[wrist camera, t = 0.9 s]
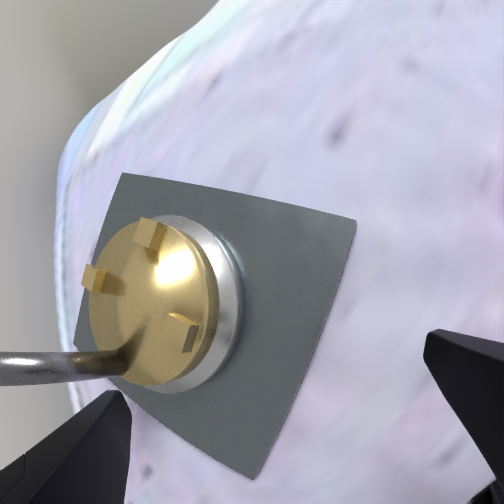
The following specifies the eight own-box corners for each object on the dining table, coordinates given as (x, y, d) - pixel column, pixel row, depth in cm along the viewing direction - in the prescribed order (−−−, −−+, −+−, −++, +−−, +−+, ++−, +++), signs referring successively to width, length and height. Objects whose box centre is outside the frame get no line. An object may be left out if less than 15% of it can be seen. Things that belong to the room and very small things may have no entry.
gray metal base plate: (356, 222, 18) (354, 213, 17) (256, 476, 18) (245, 488, 16) (126, 174, 29) (112, 167, 27) (77, 343, 28) (63, 343, 27)
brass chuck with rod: (254, 318, 18) (78, 319, 7) (147, 406, 20) (11, 434, 9) (167, 196, 23) (39, 132, 12) (91, 291, 25) (-22, 273, 14)
